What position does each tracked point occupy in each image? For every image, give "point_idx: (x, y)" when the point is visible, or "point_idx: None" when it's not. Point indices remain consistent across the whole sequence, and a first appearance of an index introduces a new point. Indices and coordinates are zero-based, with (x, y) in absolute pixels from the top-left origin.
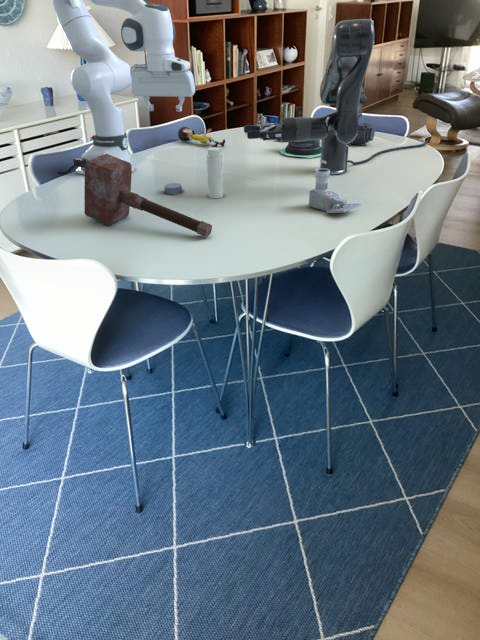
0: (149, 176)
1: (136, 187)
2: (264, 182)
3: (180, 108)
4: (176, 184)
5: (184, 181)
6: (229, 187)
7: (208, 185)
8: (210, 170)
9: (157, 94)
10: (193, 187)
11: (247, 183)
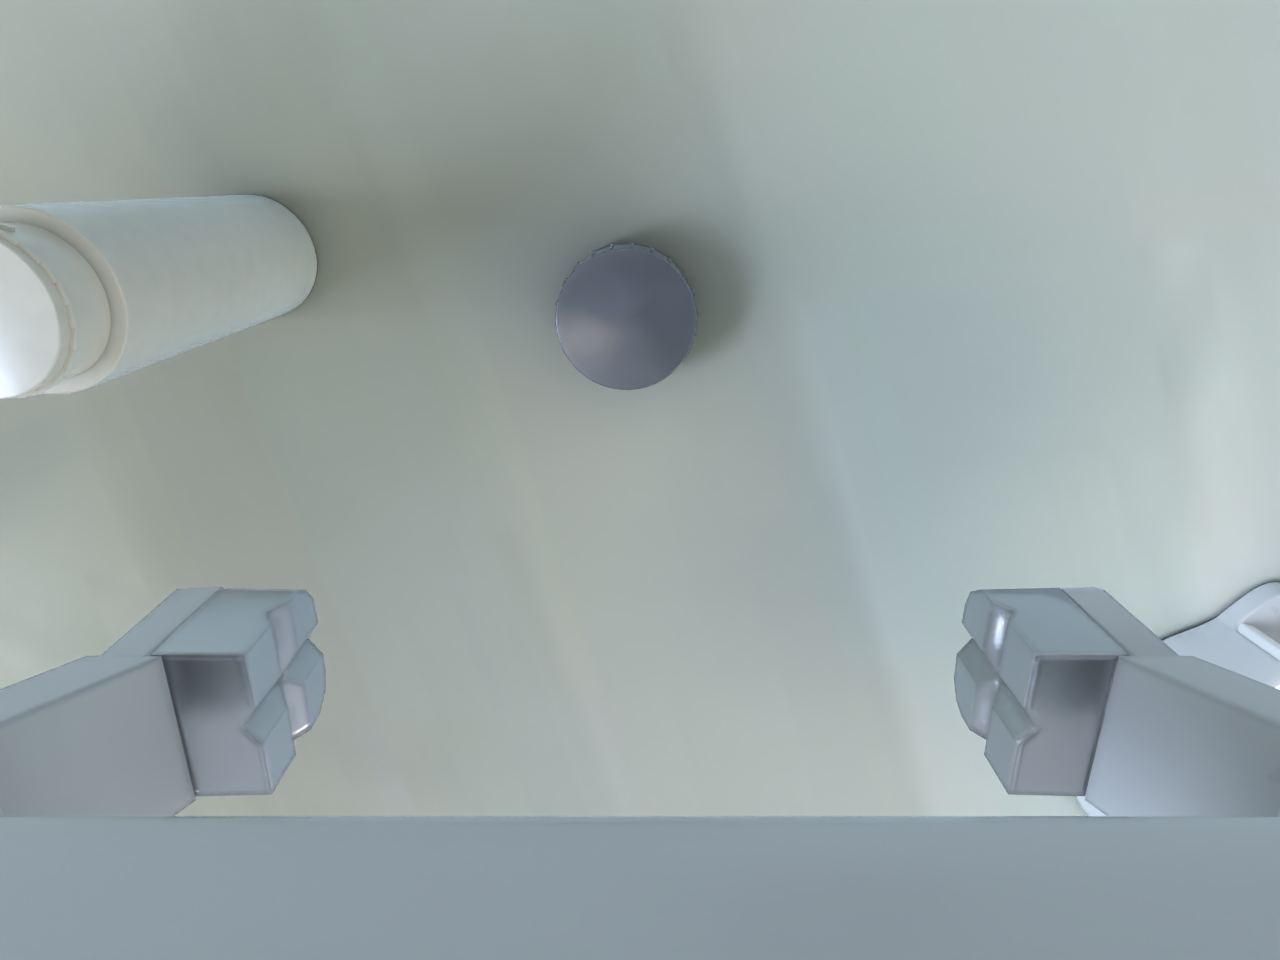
0: (919, 657)
1: (957, 390)
2: (39, 618)
3: (146, 626)
4: (605, 350)
5: (623, 575)
6: (239, 478)
7: (260, 227)
8: (140, 204)
9: (895, 862)
10: (509, 445)
11: (148, 583)
